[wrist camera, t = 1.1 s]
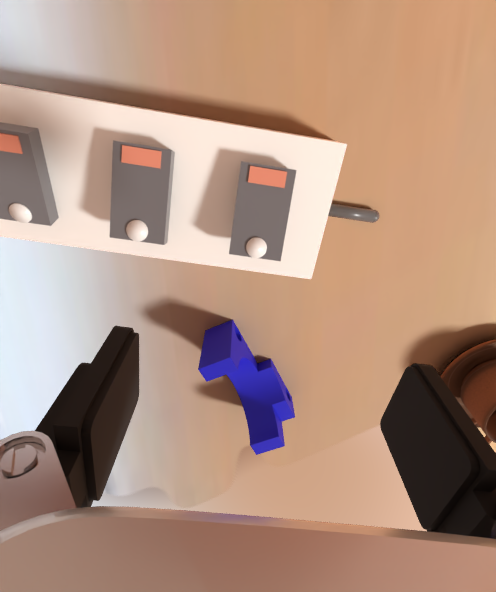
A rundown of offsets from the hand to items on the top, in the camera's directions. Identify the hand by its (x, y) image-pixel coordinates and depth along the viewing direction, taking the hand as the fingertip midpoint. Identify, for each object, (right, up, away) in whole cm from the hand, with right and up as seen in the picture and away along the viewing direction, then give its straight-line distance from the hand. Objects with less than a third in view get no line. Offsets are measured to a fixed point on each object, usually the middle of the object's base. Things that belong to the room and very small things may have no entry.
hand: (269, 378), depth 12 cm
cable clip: (0, -4, +24) cm, 25 cm away
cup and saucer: (+25, -6, +25) cm, 36 cm away
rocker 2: (-8, +10, +11) cm, 16 cm away
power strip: (-5, +12, +15) cm, 20 cm away
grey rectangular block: (-16, +11, +10) cm, 21 cm away
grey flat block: (0, +8, +11) cm, 14 cm away
